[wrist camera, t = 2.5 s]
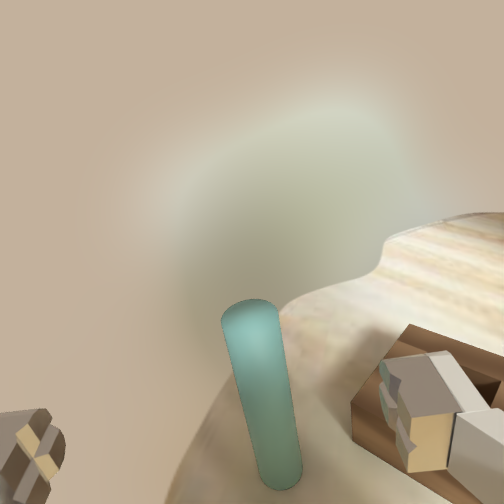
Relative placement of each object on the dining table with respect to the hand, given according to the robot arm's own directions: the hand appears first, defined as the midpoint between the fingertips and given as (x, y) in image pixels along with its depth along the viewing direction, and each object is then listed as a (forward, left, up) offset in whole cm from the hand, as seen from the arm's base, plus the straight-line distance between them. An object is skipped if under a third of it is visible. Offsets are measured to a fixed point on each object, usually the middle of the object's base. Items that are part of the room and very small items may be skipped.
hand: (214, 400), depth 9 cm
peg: (-9, -9, -23) cm, 26 cm away
